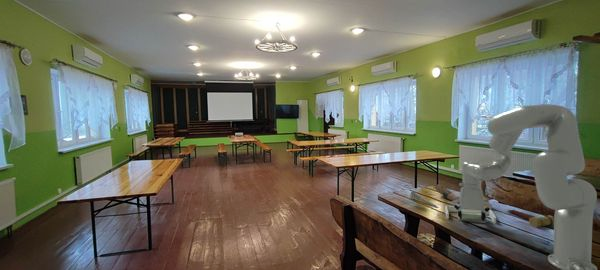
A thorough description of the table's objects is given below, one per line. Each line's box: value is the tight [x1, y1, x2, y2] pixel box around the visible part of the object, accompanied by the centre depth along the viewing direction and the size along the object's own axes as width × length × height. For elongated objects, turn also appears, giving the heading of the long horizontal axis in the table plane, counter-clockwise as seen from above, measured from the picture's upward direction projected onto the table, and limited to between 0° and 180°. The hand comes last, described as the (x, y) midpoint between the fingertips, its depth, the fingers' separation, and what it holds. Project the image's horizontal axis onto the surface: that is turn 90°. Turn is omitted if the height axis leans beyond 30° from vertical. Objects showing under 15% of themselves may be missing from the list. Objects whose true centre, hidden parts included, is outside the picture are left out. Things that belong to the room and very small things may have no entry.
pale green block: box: [456, 210, 487, 224], centre depth 141 cm, size 5×12×4 cm, turn 66°
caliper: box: [410, 190, 439, 209], centre depth 169 cm, size 20×1×6 cm, turn 23°
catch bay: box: [444, 204, 497, 224], centre depth 145 cm, size 13×22×3 cm, turn 66°
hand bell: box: [480, 180, 493, 210], centre depth 156 cm, size 8×8×16 cm
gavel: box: [507, 209, 554, 228], centre depth 138 cm, size 21×5×10 cm
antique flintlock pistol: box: [434, 182, 460, 202], centre depth 168 cm, size 6×30×10 cm, turn 18°
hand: (471, 219), depth 137 cm, fingers open, 9 cm apart
